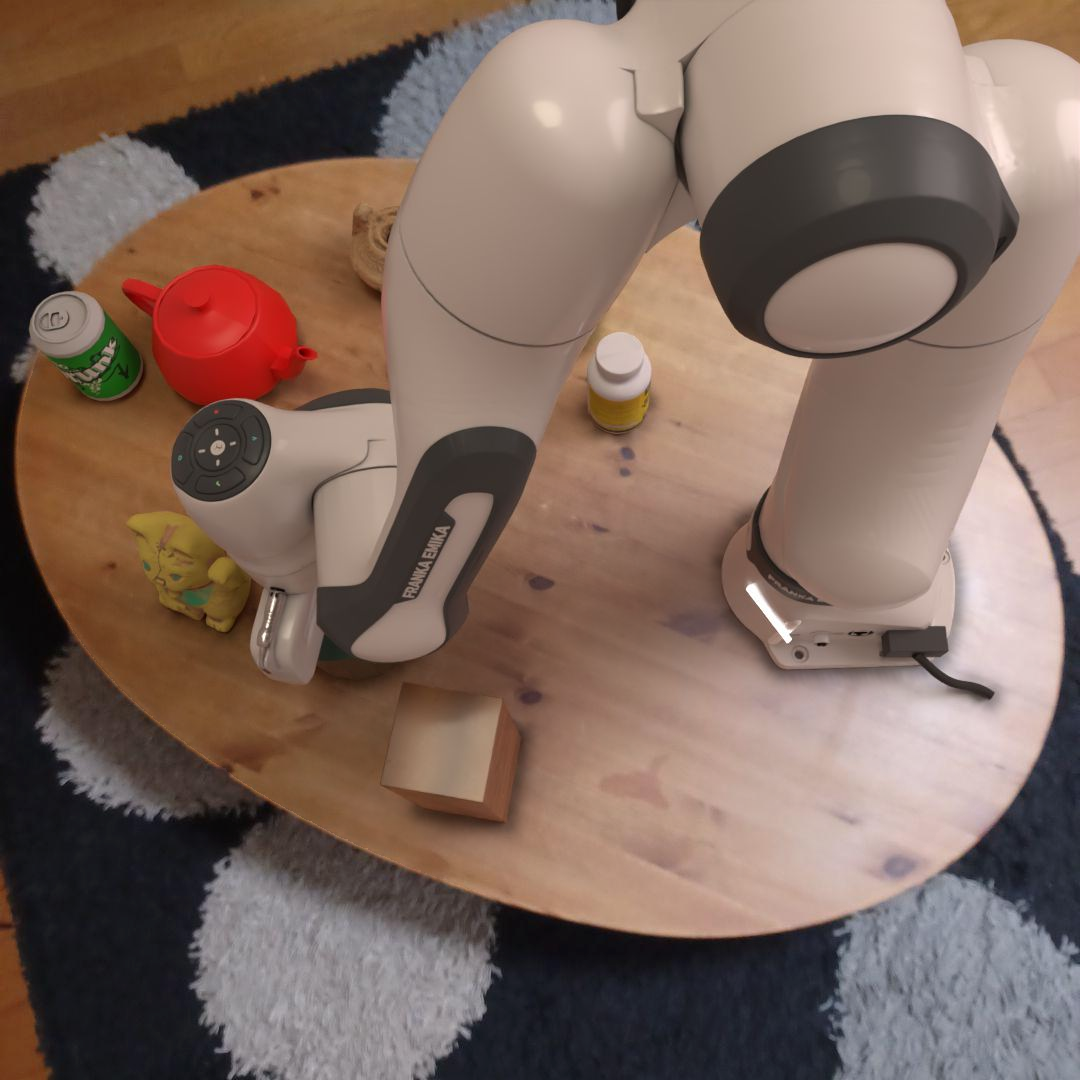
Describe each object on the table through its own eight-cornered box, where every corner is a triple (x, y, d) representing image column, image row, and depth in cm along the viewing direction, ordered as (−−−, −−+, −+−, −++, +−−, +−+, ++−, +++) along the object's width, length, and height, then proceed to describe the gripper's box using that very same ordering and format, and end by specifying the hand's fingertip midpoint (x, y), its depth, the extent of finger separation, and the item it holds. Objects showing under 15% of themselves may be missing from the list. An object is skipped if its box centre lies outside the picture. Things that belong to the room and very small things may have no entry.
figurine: (153, 604, 103) (83, 557, 89) (197, 530, 105) (135, 473, 91) (248, 647, 101) (191, 605, 87) (290, 570, 103) (242, 518, 89)
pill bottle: (642, 440, 106) (647, 387, 95) (582, 430, 107) (580, 377, 96) (652, 386, 108) (658, 328, 97) (593, 377, 109) (593, 319, 98)
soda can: (80, 352, 114) (23, 292, 102) (145, 340, 114) (96, 278, 102) (81, 411, 111) (23, 356, 100) (149, 398, 111) (98, 342, 100)
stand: (521, 737, 96) (502, 697, 78) (506, 822, 94) (483, 803, 75) (440, 723, 97) (402, 681, 78) (422, 808, 95) (379, 785, 76)
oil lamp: (461, 328, 112) (452, 287, 104) (339, 293, 114) (321, 250, 107) (496, 249, 115) (489, 203, 108) (376, 216, 118) (361, 169, 110)
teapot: (112, 375, 112) (57, 316, 101) (187, 266, 117) (142, 198, 105) (304, 460, 108) (269, 408, 96) (374, 343, 112) (349, 280, 100)
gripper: (295, 671, 74) (340, 705, 87) (359, 422, 81) (392, 489, 94) (214, 657, 75) (270, 693, 88) (284, 412, 81) (327, 479, 94)
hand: (334, 586), depth 91 cm, fingers closed on tin lid, 2 cm apart
